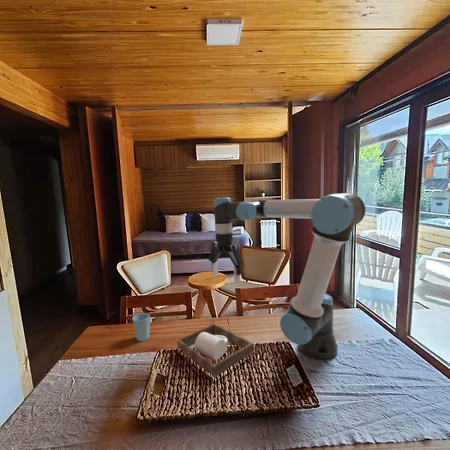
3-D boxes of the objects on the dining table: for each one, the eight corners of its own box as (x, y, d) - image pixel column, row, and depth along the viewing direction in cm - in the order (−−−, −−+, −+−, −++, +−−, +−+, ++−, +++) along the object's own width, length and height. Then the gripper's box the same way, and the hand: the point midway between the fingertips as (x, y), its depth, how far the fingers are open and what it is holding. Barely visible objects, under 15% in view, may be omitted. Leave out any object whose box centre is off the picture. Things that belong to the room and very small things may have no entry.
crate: (253, 356, 106) (253, 343, 105) (215, 381, 93) (214, 367, 92) (215, 334, 124) (214, 323, 123) (178, 353, 110) (177, 340, 110)
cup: (153, 339, 121) (151, 318, 120) (135, 344, 118) (133, 322, 117) (150, 332, 128) (148, 311, 127) (133, 336, 125) (131, 315, 124)
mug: (213, 365, 100) (212, 345, 99) (195, 355, 106) (193, 336, 105) (233, 349, 109) (232, 331, 108) (214, 341, 116) (213, 324, 115)
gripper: (251, 233, 112) (252, 282, 115) (211, 229, 130) (213, 272, 132) (239, 236, 107) (241, 287, 109) (199, 231, 125) (202, 275, 127)
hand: (226, 279), depth 121 cm, fingers open, 13 cm apart
